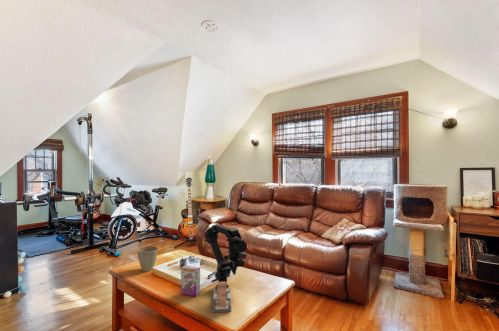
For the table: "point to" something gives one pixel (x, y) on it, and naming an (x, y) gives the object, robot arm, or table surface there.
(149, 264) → the plant pot
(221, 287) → the salmon pink rectangular block
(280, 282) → the table surface
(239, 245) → the robot arm
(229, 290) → the track
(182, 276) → the candy bar box
